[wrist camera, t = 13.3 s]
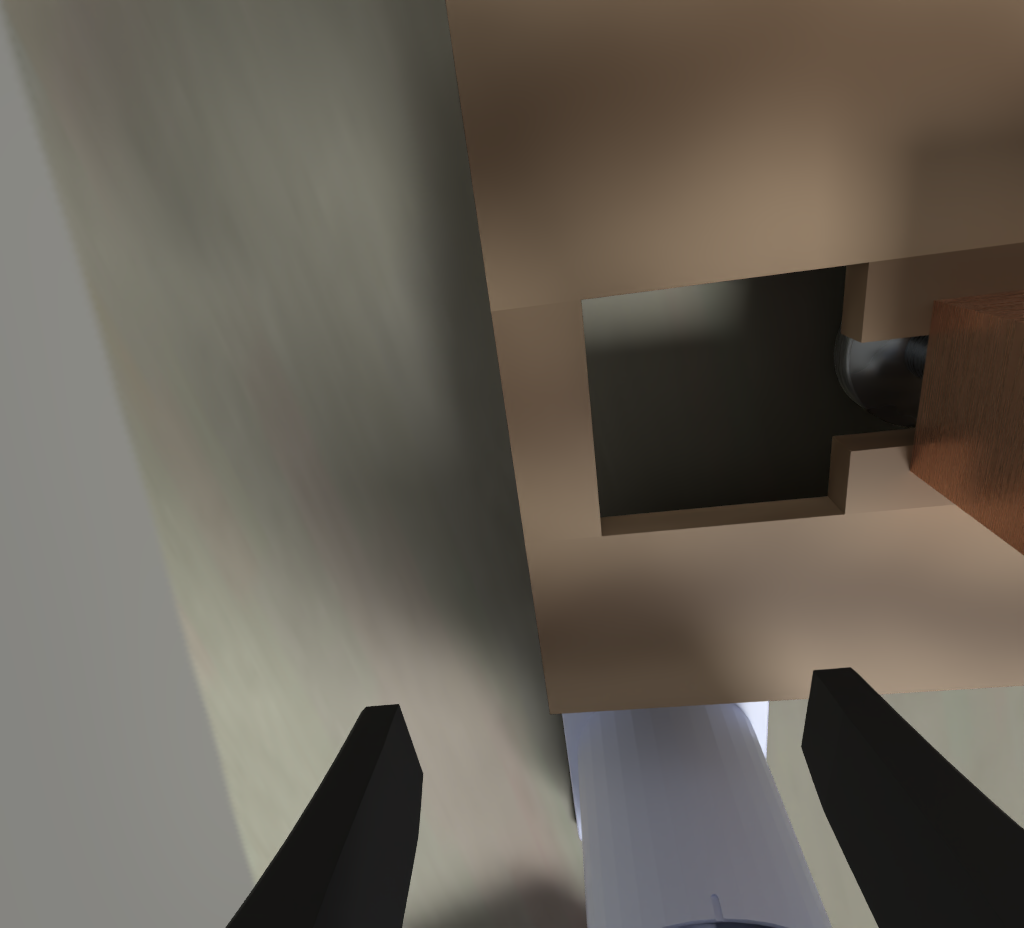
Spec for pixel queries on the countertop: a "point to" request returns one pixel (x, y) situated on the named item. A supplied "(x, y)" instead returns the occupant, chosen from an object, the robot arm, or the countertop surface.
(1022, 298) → the brown piece
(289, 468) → the countertop surface
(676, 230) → the keyhole board
